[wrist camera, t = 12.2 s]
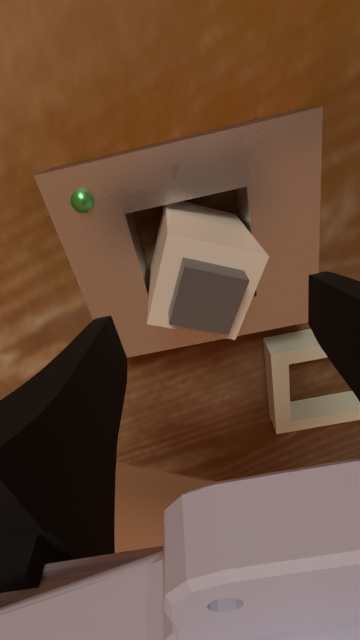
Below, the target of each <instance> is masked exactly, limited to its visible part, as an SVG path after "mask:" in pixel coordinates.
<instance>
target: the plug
mask: <svg viewBox="0 0 360 640" xmlns="http://www.w3.org/2000/svg"><path fill="white" fill-rule="evenodd" d="M268 258H269V256H268V254H267V253H266V252H265V251H264V249H263V248H262V247H261V246H260V244H259V243H258V242H257V241H256V239H255V238H254V237H253V236H252V234H251V233H250V232H249V231H248V229H247V228H246V227H245V226H244V224H243V223H242V222H241V221H240V219H239V218H238V217H237V216H236V214H233V213H229V212H225V211H221V210H217V209H213V208H209V207H205V206H201V205H197V204H193V203H189V202H184V201H180V202H176V203H171V204H167V205H164V206H163V211H162V216H161V220H160V225H159V230H158V234H157V239H156V244H155V249H154V253H153V258H152V263H151V273H150V287H149V301H148V316H147V324H148V325H154V326H160V327H165V328H171V329H176V330H182V331H188V332H193V333H199V334H204V335H210V336H216V337H221V338H227V339H232V340H236V337H237V335H238V332H239V330H240V328H241V325H242V323H243V320H244V318H245V315H246V313H247V310H248V308H249V305H250V303H251V300H252V298H253V295H254V293H255V290H256V288H257V285H258V283H259V281H260V278H261V276H262V273H263V271H264V268H265V266H266V263H267V261H268Z"/></svg>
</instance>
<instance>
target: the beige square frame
mask: <svg viewBox="0 0 360 640" xmlns="http://www.w3.org/2000/svg"><path fill="white" fill-rule="evenodd" d="M263 345H264V357H265V369H266V381H267V393H268V404H269V415H270V418H271V421H272V424H273V426H274V429H275V432H276V434H281V433H286V432H292V431H298V430H303V429H309V428H315V427H321V426H326V425H332V424H338V423H343V422H349V421H355V420H360V402H359V400H358V399H357V397H356V395H355V394H354V392H353V391H347V392H342V393H336V394H331V395H325V396H320V397H314V398H309V399H303V400H298V401H292V402H290V385H289V365H290V364H295V363H300V362H306V361H311V360H316V359H321V358H327V355H326V354H325V352H324V351H323V350H322V348H321V347H320V345H319V344H318V342H317V340H316V338H315V336H314V334H313V332H312V330H311V329H306V330H301V331H296V332H291V333H285V334H280V335H275V336H270V337H265V338H263Z"/></svg>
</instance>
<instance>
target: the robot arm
mask: <svg viewBox="0 0 360 640" xmlns="http://www.w3.org/2000/svg"><path fill="white" fill-rule="evenodd" d="M308 324H309V326H310V328H311V330H312V332H313V334H314V336H315V338H316V340H317V342H318V344H319V345H320V347H321V348H322V350H323V351H324V352H325V354H326V355H327V357H328V358H329V359H330V361H331V362H332V364H333V365H334V366H335V368H336V369H337V370H338V372H339V373H340V374H341V376H342V377H343V379H344V380H345V381H346V383H347V384H348V385H349V387H350V388H351V390H352V391H353V392H354V394H355V395H356V397H357V399H358V400H359V402H360V281H357V280H354V279H351V278H348V277H345V276H342V275H338V274H335V273H331V272H321V273H316V274H311V275H309V279H308ZM126 384H127V356H126V354H125V351H124V348H123V346H122V343H121V340H120V338H119V335H118V332H117V330H116V327H115V324H114V322H113V319H112V316H106V317H101V318H96V319H94V320H93V321H92V322H91V323H90V324H89V325H88V326H87V327H86V328H85V329H84V330H83V331H82V332H81V333H80V334H79V335H78V336H77V337H76V338H75V339H74V340H73V341H72V342H71V343H70V344H69V345H68V346H67V347H66V348H65V349H64V350H63V351H62V352H61V353H60V354H59V355H57V356H56V357H55V358H54V359H53V360H52V361H51V362H50V363H49V364H48V365H47V366H46V367H44V368H43V369H42V370H41V371H40V372H39V373H37V374H36V375H35V376H34V377H32V378H31V379H30V380H29V381H27V382H26V383H25V384H23V385H22V386H21V387H19V388H18V389H17V390H15V391H14V392H12V393H11V394H9V395H8V396H6V397H5V398H3V399H2V400H0V640H360V459H350V460H344V461H338V462H332V463H326V464H320V465H314V466H308V467H302V468H296V469H290V470H284V471H278V472H272V473H266V474H260V475H254V476H248V477H242V478H236V479H230V480H224V481H218V482H212V483H209V484H206V485H203V486H200V487H197V488H194V489H191V490H188V491H186V492H184V493H183V494H182V495H181V496H180V497H179V498H178V499H177V500H176V501H175V502H173V503H172V504H171V505H170V506H169V507H168V508H167V509H166V510H165V511H164V526H163V531H164V532H163V537H164V538H163V543H164V544H163V546H158V547H152V548H146V549H139V550H133V551H126V552H120V553H115V551H114V507H115V505H114V504H115V500H114V499H115V469H116V452H117V440H118V432H119V426H120V420H121V414H122V409H123V403H124V397H125V390H126Z"/></svg>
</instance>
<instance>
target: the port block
mask: <svg viewBox="0 0 360 640" xmlns="http://www.w3.org/2000/svg"><path fill="white" fill-rule="evenodd" d="M322 116H323V107H317V108H306V109H296V110H292V111H288V112H284V113H280V114H275V115H271V116H267V117H263V118H259V119H254V120H250V121H246V122H242V123H238V124H233V125H229V126H225V127H221V128H217V129H213V130H208V131H204V132H200V133H196V134H192V135H187V136H183V137H179V138H175V139H171V140H166V141H162V142H158V143H154V144H150V145H145V146H141V147H137V148H133V149H129V150H124V151H120V152H116V153H112V154H108V155H103V156H99V157H95V158H91V159H87V160H82V161H78V162H74V163H70V164H66V165H61V166H57V167H53V168H51V169H48V170H46V171H44V172H41V173H39V174H36V175H34V177H35V180H36V182H37V185H38V187H39V190H40V192H41V194H42V197H43V199H44V202H45V204H46V207H47V209H48V211H49V214H50V216H51V219H52V221H53V224H54V226H55V228H56V231H57V233H58V236H59V238H60V241H61V243H62V245H63V248H64V250H65V253H66V255H67V258H68V260H69V263H70V265H71V267H72V270H73V272H74V275H75V277H76V280H77V282H78V284H79V287H80V289H81V292H82V294H83V297H84V299H85V301H86V304H87V306H88V309H89V311H90V314H91V316H92V318H93V320H94V319H96V318H101V317H106V316H112V319H113V322H114V324H115V327H116V330H117V332H118V335H119V338H120V340H121V343H122V346H123V348H124V351H125V354H126V356H127V358H128V357H133V356H138V355H144V354H149V353H154V352H159V351H164V350H169V349H174V348H179V347H184V346H189V345H195V344H200V343H205V342H210V341H215V340H220V339H225V338H221V337H216V336H210V335H204V334H199V333H193V332H188V331H182V330H176V329H171V328H165V327H160V326H154V325H148V324H147V316H148V301H149V287H150V273H149V269H148V266H147V262H146V258H145V255H144V251H143V247H142V244H141V240H140V237H139V233H138V229H137V226H136V222H135V218H134V215H133V212H136V211H140V210H145V209H149V208H154V207H158V206H162V205H167V204H171V203H176V202H180V201H185V200H189V199H193V198H198V197H202V196H207V195H211V194H216V193H220V192H225V191H229V190H233V189H236V194H237V203H238V213H239V219H240V221H241V222H242V223H243V224H244V226H245V227H246V228H247V229H248V231H249V232H250V233H251V234H252V236H253V237H254V238H255V239H256V241H257V242H258V243H259V244H260V246H261V247H262V248H263V249H264V251H265V252H266V253H267V254H268V256H269V258H268V261H267V263H266V266H265V268H264V271H263V273H262V276H261V278H260V281H259V283H258V285H257V288H256V290H255V293H254V295H253V298H252V300H251V303H250V305H249V308H248V310H247V313H246V315H245V318H244V320H243V323H242V325H241V328H240V330H239V332H238V335H237V336H241V335H246V334H251V333H256V332H261V331H266V330H271V329H276V328H281V327H286V326H292V325H297V324H302V323H307V322H308V279H309V275H311V274H316V273H319V238H320V198H321V157H322Z"/></svg>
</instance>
